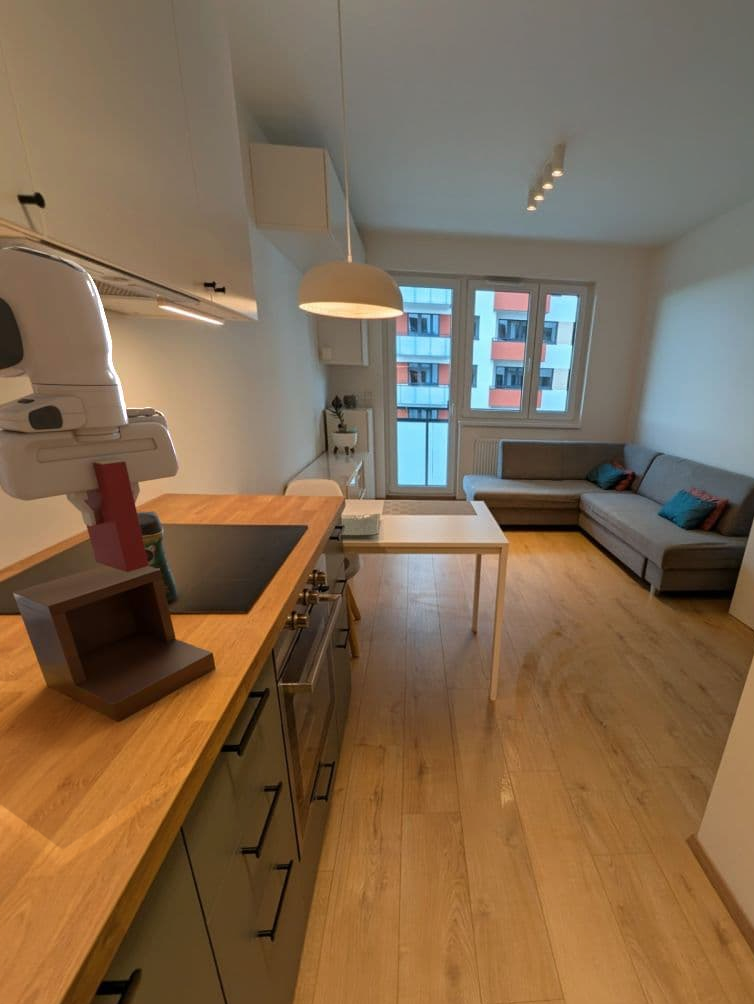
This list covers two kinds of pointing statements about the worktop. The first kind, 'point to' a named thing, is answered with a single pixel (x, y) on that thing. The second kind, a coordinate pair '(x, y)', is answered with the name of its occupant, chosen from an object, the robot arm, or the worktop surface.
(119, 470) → the book
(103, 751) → the worktop surface
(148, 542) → the coffee jar
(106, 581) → the shelf
